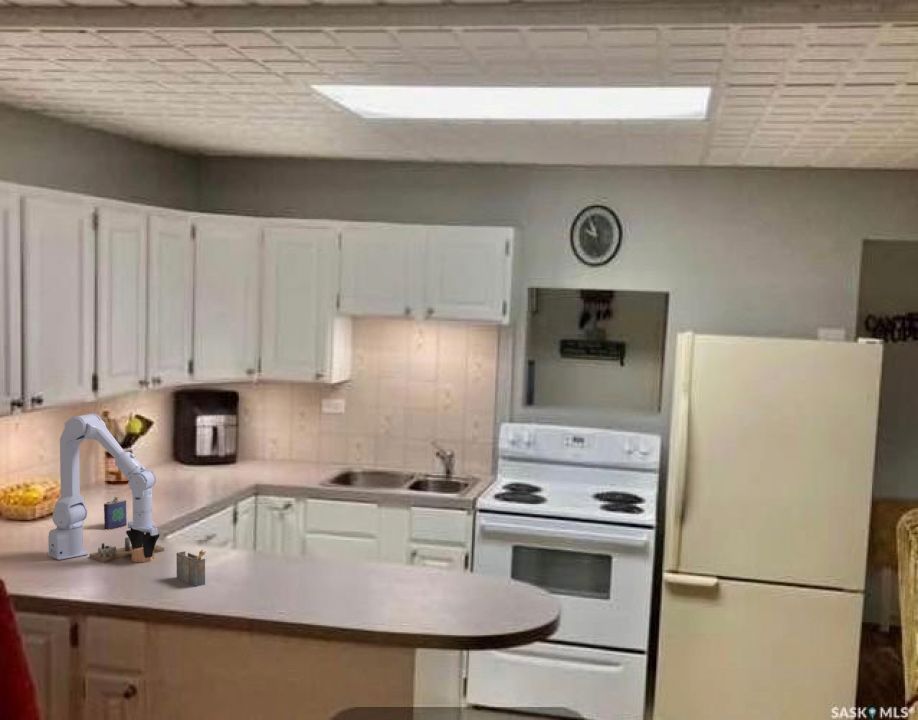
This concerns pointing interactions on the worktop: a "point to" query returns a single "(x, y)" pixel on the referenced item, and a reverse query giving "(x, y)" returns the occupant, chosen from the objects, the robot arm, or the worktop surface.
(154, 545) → the robot arm
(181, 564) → the grey-brown boxy piece
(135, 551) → the gear
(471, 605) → the worktop surface
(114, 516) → the flask
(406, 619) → the worktop surface
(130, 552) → the gear board
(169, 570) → the worktop surface
